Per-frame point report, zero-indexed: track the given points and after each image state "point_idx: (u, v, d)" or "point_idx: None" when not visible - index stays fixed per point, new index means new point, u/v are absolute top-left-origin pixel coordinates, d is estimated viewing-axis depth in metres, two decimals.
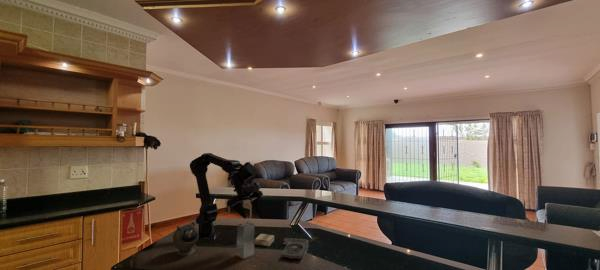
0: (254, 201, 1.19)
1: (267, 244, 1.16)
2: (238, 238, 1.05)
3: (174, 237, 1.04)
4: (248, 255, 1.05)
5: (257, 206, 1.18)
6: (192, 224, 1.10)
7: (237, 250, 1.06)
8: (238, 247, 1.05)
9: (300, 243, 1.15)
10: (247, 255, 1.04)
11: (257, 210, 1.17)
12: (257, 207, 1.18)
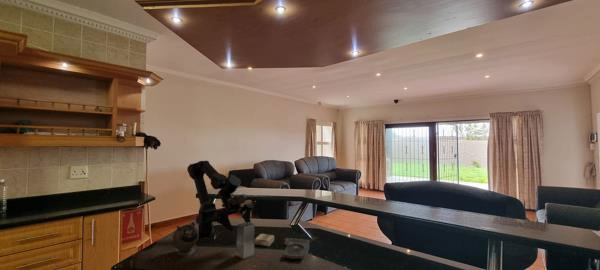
0: (244, 214, 1.16)
1: (267, 244, 1.16)
2: (238, 238, 1.05)
3: (174, 237, 1.04)
4: (248, 255, 1.05)
5: (247, 219, 1.14)
6: (192, 224, 1.10)
7: (237, 250, 1.06)
8: (238, 247, 1.05)
9: (301, 243, 1.15)
10: (247, 255, 1.04)
11: None
12: (247, 220, 1.14)
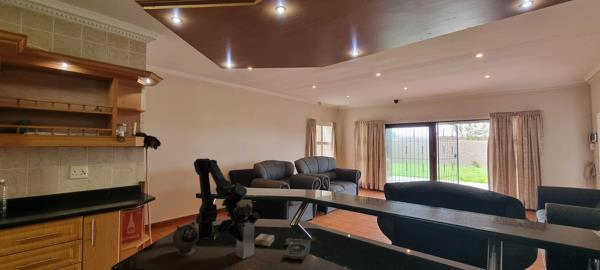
0: None
1: (267, 244, 1.16)
2: None
3: (174, 237, 1.04)
4: (248, 255, 1.05)
5: None
6: (192, 224, 1.10)
7: (237, 250, 1.06)
8: (238, 247, 1.05)
9: (302, 243, 1.15)
10: (247, 255, 1.04)
11: None
12: None
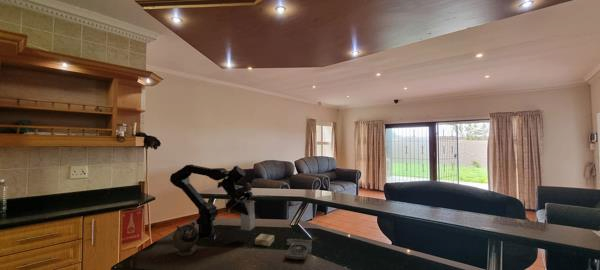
0: None
1: (267, 244, 1.16)
2: (243, 214, 1.20)
3: (174, 237, 1.04)
4: (252, 227, 1.22)
5: None
6: (192, 224, 1.10)
7: (242, 225, 1.20)
8: (243, 222, 1.20)
9: (303, 244, 1.14)
10: (252, 227, 1.21)
11: None
12: None
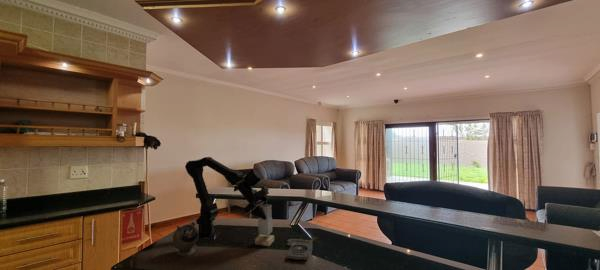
0: None
1: (267, 244, 1.16)
2: (260, 218, 1.18)
3: (174, 237, 1.04)
4: (270, 231, 1.20)
5: None
6: (192, 224, 1.10)
7: (259, 229, 1.18)
8: (261, 226, 1.18)
9: (304, 244, 1.14)
10: (269, 231, 1.19)
11: None
12: None
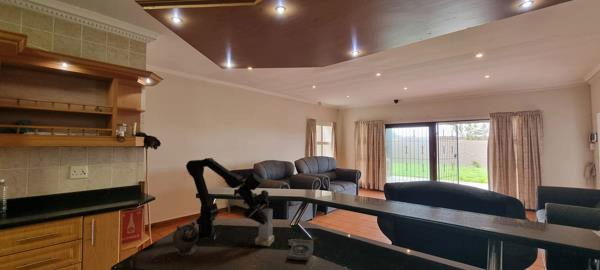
0: (263, 208, 1.26)
1: (267, 244, 1.16)
2: None
3: (174, 237, 1.04)
4: (270, 236, 1.20)
5: None
6: (192, 224, 1.10)
7: (260, 234, 1.18)
8: (261, 231, 1.18)
9: (305, 244, 1.14)
10: (269, 236, 1.19)
11: None
12: None
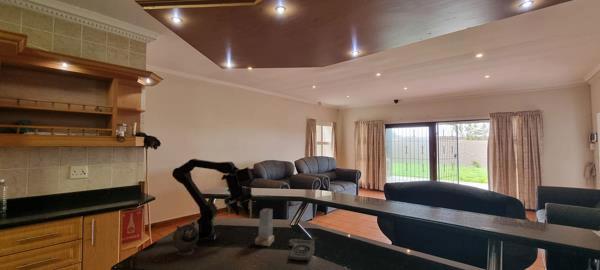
0: (233, 203, 1.31)
1: (267, 244, 1.16)
2: (261, 223, 1.18)
3: (174, 237, 1.04)
4: (270, 236, 1.20)
5: (237, 208, 1.31)
6: (192, 224, 1.10)
7: (260, 234, 1.18)
8: (261, 231, 1.18)
9: (306, 244, 1.14)
10: (269, 236, 1.19)
11: (237, 212, 1.31)
12: (237, 209, 1.31)
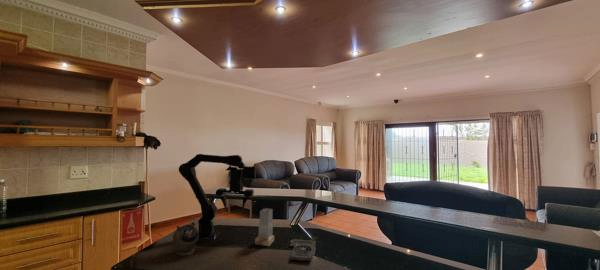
0: (225, 196, 1.30)
1: (267, 244, 1.16)
2: (261, 223, 1.18)
3: (174, 237, 1.04)
4: (270, 236, 1.20)
5: (226, 202, 1.31)
6: (192, 224, 1.10)
7: (260, 234, 1.18)
8: (261, 231, 1.18)
9: (307, 244, 1.14)
10: (269, 236, 1.19)
11: (226, 205, 1.30)
12: (226, 202, 1.31)
